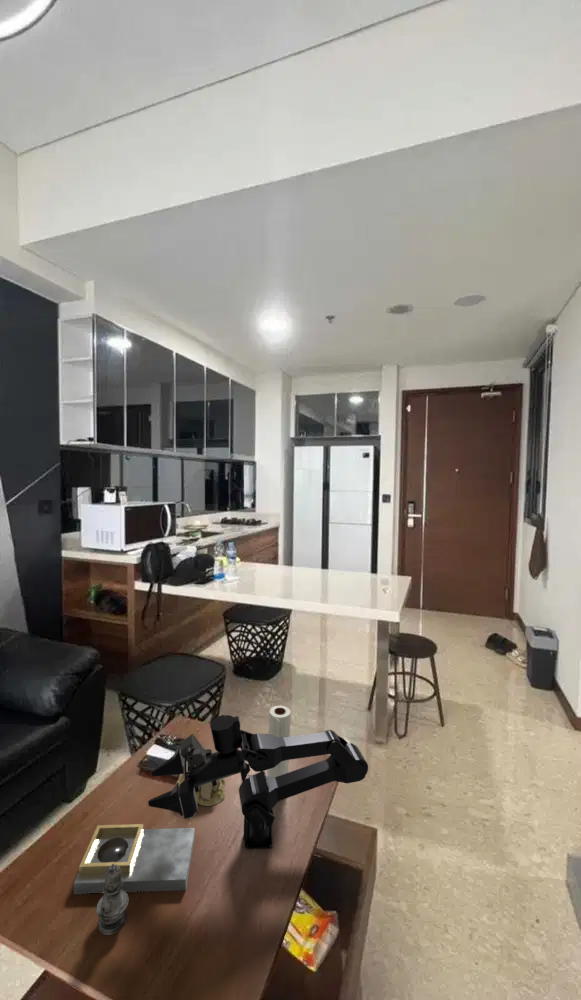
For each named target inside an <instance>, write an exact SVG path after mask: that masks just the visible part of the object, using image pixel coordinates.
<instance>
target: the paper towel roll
mask: <svg viewBox="0 0 581 1000" xmlns="http://www.w3.org/2000/svg"><path fill="white" fill-rule="evenodd" d="M268 713H269V716H268V734H271V735H274V736H277V737H290V736H291V735H290V734H291V731H290V730H291V713H292V711H291V709H290V708H289V707H288V706H284V705H275V706H272V707H270V709H269V712H268ZM289 763H290V760H285V761H282V762H280V763H279V764H278V765H277V766H275V767H274V768H271V769H268V770H266V771H267V772H266V776H267V777H272V778H274V777H277V776H280V775H283V774H286V773H289Z"/></svg>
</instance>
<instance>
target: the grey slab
mask: <svg viewBox="0 0 581 1000" xmlns="http://www.w3.org/2000/svg"><path fill="white" fill-rule="evenodd" d="M195 831H196V828H195V827H181V828H180V827H177V828H144V823H137V824H136V823H135V824H133V823H132V824H130V823H129V824H100V825H99V824H97V826H96V829H95V830H94V833H93V835H92V837H91V839H90V841H89V844H88V846H87V848H86V851H85V852H84V855H83V857H82V860H81V862H80V864H79V867H78V873H77V875H76V877H75V880H74V882H73V895H90V894H89V893H101V894H103V893H102V892H103V886H104V884H105V873H106V870H107V869H108V868H109V867H110V866H111V865H112V864H114V865H118V866H119V867H120V869H121V879H122V881H123V885H122V888H121V890H124V891H125V892H128V893H146V892H147V891H148V892H147V893H149V892H150V891H152V892H153V891H154V892H174V891H176V892H177V891H178V892H179V891H186V890H187V885H188V880H189V879H188V878H189V872H190V868H191V862H192V856H193V850H194V845H195V838H196V832H195ZM137 891H138V892H137ZM140 891H141V892H140ZM143 891H144V892H143ZM145 891H146V892H145ZM152 892H151V893H152ZM87 893H88V894H87Z"/></svg>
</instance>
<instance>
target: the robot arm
mask: <svg viewBox="0 0 581 1000" xmlns="http://www.w3.org/2000/svg"><path fill="white" fill-rule="evenodd" d="M240 722H241V721H240V717H239V716H238V715H236V716H232V715H229V714H226V715H225V714H222V715H218V716H217V717H215V718H214V719H212V720H211V722H210V724H209V727H210V728H209V729H210V733H211V737H212V742H213V746H214V750H215V751H214V752H212V748H211V749H210V748H207V749H204V748H203V746H202V744H201V743H200V741H199V740H198V738H197V737H196V736H195V734H193V733H191V734H190V735H189V736H187V737H185V738H184V739H183V740H181V741H180V745H177V748H176V750H175V752H174V753H173V755H172V756H171V757H170V758H168V759H167V760H166V761H164V762H163V763H161V764H159V766H157V767H156V768H155V769H153V770H151V775H152V777H166V776H173V775H180V774H184V767H185V777H184V781H183V782H182V783H181V784H180V789H179V784H178V783H177V784H176V783H175V785H174V787H173V789H172V790H169V791H167V792H164V793H162V794H160V795H157V796H155V797H153V798H151V799H149V800H148V801H147V804H148V806H149V807H150V808H151V807H152V808H157V809H162V810H166V811H167V810H168V811H169V812H174V813H178V814H180V816H181V817H183V816H184V817H183V818H184V820H185V821H186V820H188V819H192V818H194V817H195V816H196V814H197V812H198V803H197V796H196V792H199V787H200V786H203V785H205V784H208V783H211V782H212V785H213V786H216V785H217V780H220V779H226V778H229V777H232V776H235V775H239V774H240V778H241V783H240V785H239V788H238V794H239V795H238V796H239V801H240V810H241V813H242V815H243V816H244V817H243V837H242V838H243V840H244V848H245V850H249V849H250V850H251V849H252V850H253V849H255V850H257V849H272V848H273V824H274V823H275V820H276V819H275V818H276V816H275V813H274V808H275V807H276V805H277V804H278V803H279V802H280V801H282V800H285V799H288V798H292V797H294V796H297V795H299V794H302V793H305V792H308V791H310V790H313V789H316V788H319V787H321V786H322V787H323V786H324V785H327V784H330V783H332V782H338V783H343V784H353V783H357V782H360V781H363V780H364V779H365V778H366V775H367V774H368V771H369V765H368V762H367V760H366V759H365V758H364V757H365V756H364V755H363V754H362V752H361V751H360V749H359V747H358V746H357V745H356V744H354V743H352V742H348V741H347V740H346V739H345V738H344V737H342V736H340V735H338V733H336V732H335V731H334V730H332V729H327V730H325V731H323V732H314V733H308V734H299V735H292V736H291V735H290V737H277V736H274V735H271V734H269V733H259V732H258V733H253V732H249V731H246V730H243V729H241V723H240ZM326 755H329V756H328V757H327V758H325V759H323V760H320V761H318V762H315V763H312V764H309V765H307V766H303V767H301V768H298V769H295V770H292V771H290V772H289V771H288V773H286V774H283V775H280V776H277V777H274V778H272V777H267V773H266V771H267V770H268V769H271V768H274V767H275V766H277V765H278V764H279V763H280V762H282V761H285V760H289V761H291V760H297V759H304V758H311V757H312V758H313V757H318V756H319V757H320V756H326ZM251 770H253V772H256V773H255V774H249V773H250V772H251ZM188 771H190V772H188ZM248 774H249V775H248ZM247 776H248V777H247ZM188 778H189V780H188Z"/></svg>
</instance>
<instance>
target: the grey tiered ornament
mask: <svg viewBox="0 0 581 1000" xmlns="http://www.w3.org/2000/svg"><path fill="white" fill-rule="evenodd" d="M122 885H123V881H122V879H121V869H120V867H119V866H118V865H114V864H112V865H111V866H110V867H109V868H108V869H107V870H106V873H105V884H104V886H103V892H104V893H103V896H101V898H100V899H99V900H98V902H97V905H96V910H95V911H96V914H97V915H96V916H97V917H98V918H99V919H98V922H97V923H98V924H97V929H98V931H99V932H100V934H102V935H104V936H110V935H114V934H116V933H117V932H119V931H120V930H121V929H122V928H123V926H125V924H126V921H127V918H128V913H127V907H128V905H129V901H130V900H129V899H130V898H129V895H128V893H126V892H125V891H124V890H121V888H122Z"/></svg>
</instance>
